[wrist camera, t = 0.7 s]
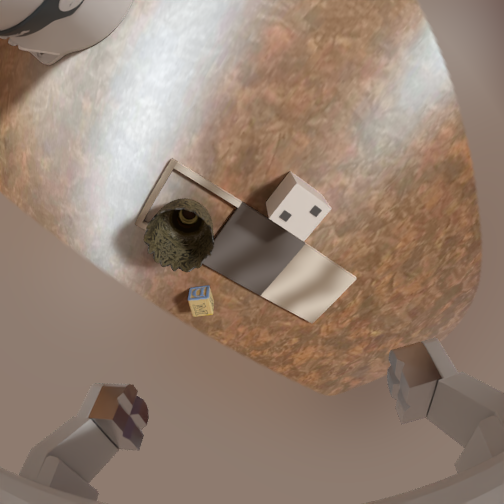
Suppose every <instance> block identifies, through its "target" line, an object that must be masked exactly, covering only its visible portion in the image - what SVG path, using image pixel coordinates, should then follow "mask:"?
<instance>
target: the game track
mask: <svg viewBox="0 0 504 504" xmlns="http://www.w3.org/2000/svg"><path fill="white" fill-rule="evenodd" d="M173 169H176V170H177V171H179V172H181V173H182V174H184V175H186V176H187V177H189V178H191V179H192V180H194V181H195V182H197V183H199V184H200V185H202V186H204V187H205V188H207V189H208V190H210V191H212V192H213V193H215V194H216V195H218V196H220V197H221V198H223V199H225V200H226V201H228V202H229V203H231V204H232V205H234V206H236V207H237V209H236V210H235V211H234V213H233V214H232V215H231V217H230V218H229V220H228V221H227V222H226V224H225V225H224V227H223V228H222V229H221V231H220V232H219V233H218V235H217V236H216V238H215V239H214V249H213V250H212V254H211V256H210V255H208V257H207V258H206V259H204V260H203V262H202V264H204V265H206V266H208V267H209V268H211V269H213V270H215V271H217V272H218V273H220V274H222V275H224V276H226V277H227V278H229V279H231V280H233V281H235V282H236V283H238V284H240V285H242V286H244V287H245V288H247V289H249V290H251V291H253V292H254V293H256V294H258V295H260V296H262V297H264V298H265V299H267V300H269V301H271V302H273V303H275V304H277V305H278V306H280V307H282V308H284V309H286V310H288V311H290V312H292V313H293V314H295V315H297V316H299V317H301V318H303V319H305V320H307V321H308V322H310V323H313V322H314V321H315V320H316V319H317V318H319V317H320V316H321V315H322V314H323V313H324V312H325V311H326V310H327V309H328V308H329V307H330V306H331V305H332V304H333V303H334V302H335V301H336V300H337V299H338V298H339V297H340V296H341V294H342V293H343V292H344V291H345V290H346V289H347V288H348V287H349V286H350V285H351V284H352V283H353V282H354V281H355V280H356V277H355V276H354V275H352V274H351V273H350V272H348V271H347V270H345V269H344V268H342V267H341V266H339V265H338V264H336V263H335V262H333V261H332V260H330V259H329V258H328V257H326V256H325V255H323V254H322V253H320V252H319V251H317V250H316V249H314V248H313V247H311V246H310V245H308V244H307V243H305V242H304V241H302V240H301V239H299V238H298V237H296V236H295V235H293V234H292V233H290V232H288V231H287V230H285V229H284V228H282V227H281V226H279V225H278V224H276V223H275V222H273V221H272V220H270V219H269V218H267V217H266V216H264V215H262V214H261V213H259V212H258V211H256V210H255V209H253V208H252V207H250V206H248V205H247V204H245V203H244V202H242V201H241V200H239V199H238V198H236V197H234V196H233V195H231V194H230V193H228V192H226V191H225V190H223V189H222V188H220V187H218V186H217V185H215V184H214V183H212V182H210V181H209V180H207V179H206V178H204V177H202V176H201V175H199V174H198V173H196V172H194V171H193V170H191V169H189V168H188V167H186V166H185V165H183V164H181V163H180V162H178V161H176V160H175V159H173V158H172V159H171V161H170V162H169V164H168V166H167V167H166V169H165V171H164V172H163V174H162V176H161V178H160V179H159V181H158V183H157V184H156V186H155V188H154V190H153V191H152V193H151V195H150V197H149V198H148V200H147V202H146V204H145V206H144V207H143V209H142V211H141V213H140V215H139V217H138V219H137V220H136V222H135V225H137V226H138V227H140V228H142V229H144V230H145V231H146V230H147V229H146V227H147V225H148V223H147V222H145V221H144V219H145V217H146V215H147V213H148V212H149V210H150V208H151V206H152V204H153V203H154V201H155V199H156V198H157V196H158V194H159V192H160V191H161V189H162V187H163V186H164V184H165V182H166V180H167V179H168V177H169V175H170V174H171V172H172V171H173Z"/></svg>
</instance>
